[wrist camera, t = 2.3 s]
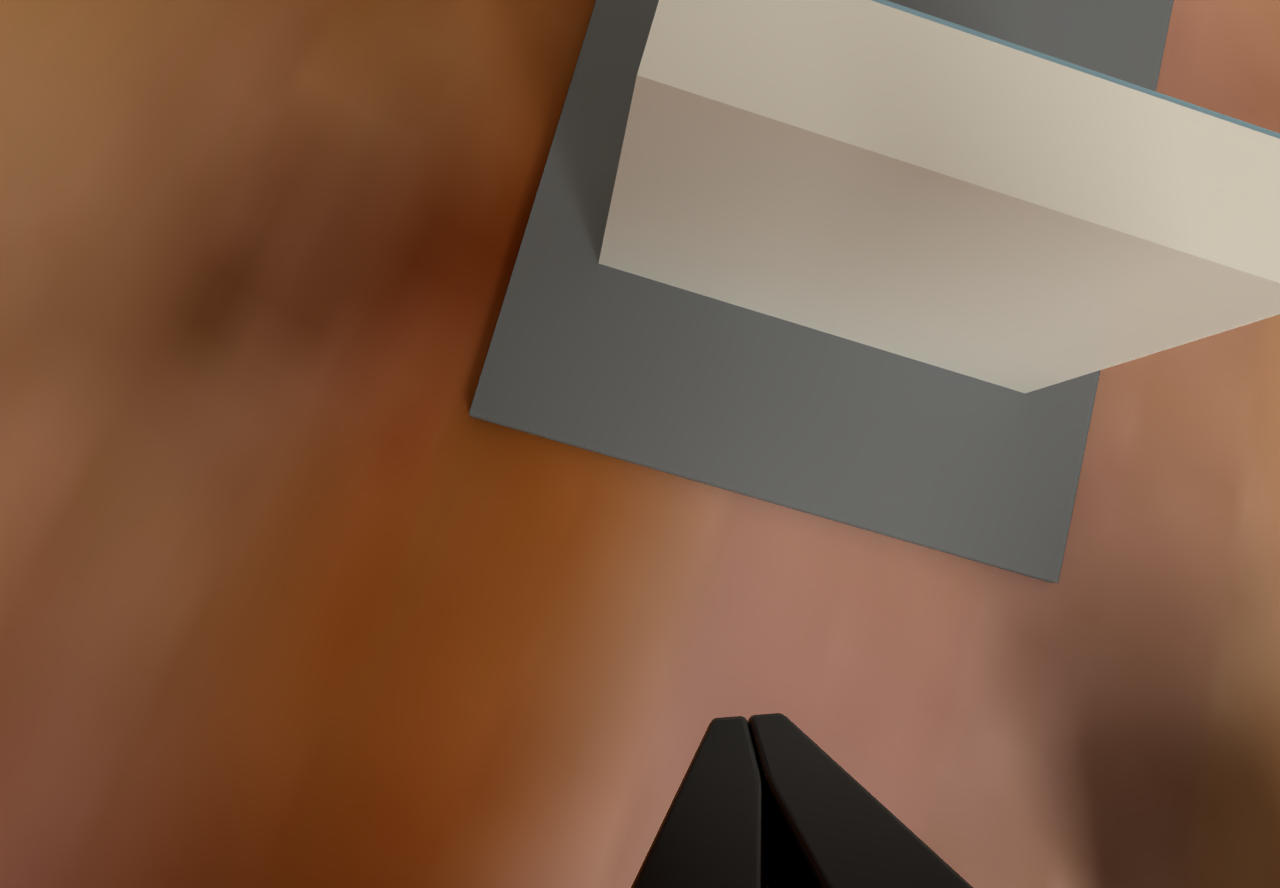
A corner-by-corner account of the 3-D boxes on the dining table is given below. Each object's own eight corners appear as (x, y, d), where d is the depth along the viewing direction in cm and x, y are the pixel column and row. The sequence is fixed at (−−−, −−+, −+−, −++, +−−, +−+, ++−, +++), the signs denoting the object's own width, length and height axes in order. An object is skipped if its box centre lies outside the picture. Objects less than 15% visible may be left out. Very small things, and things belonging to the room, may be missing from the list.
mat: (1049, 582, 23) (1058, 583, 23) (469, 416, 22) (468, 413, 21) (1178, -65, 26) (1188, -74, 25) (673, -244, 25) (675, -257, 24)
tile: (1025, 393, 23) (1328, 299, 14) (598, 263, 22) (636, 75, 13) (1045, 298, 23) (1352, 149, 15) (626, 166, 23) (682, -79, 14)
